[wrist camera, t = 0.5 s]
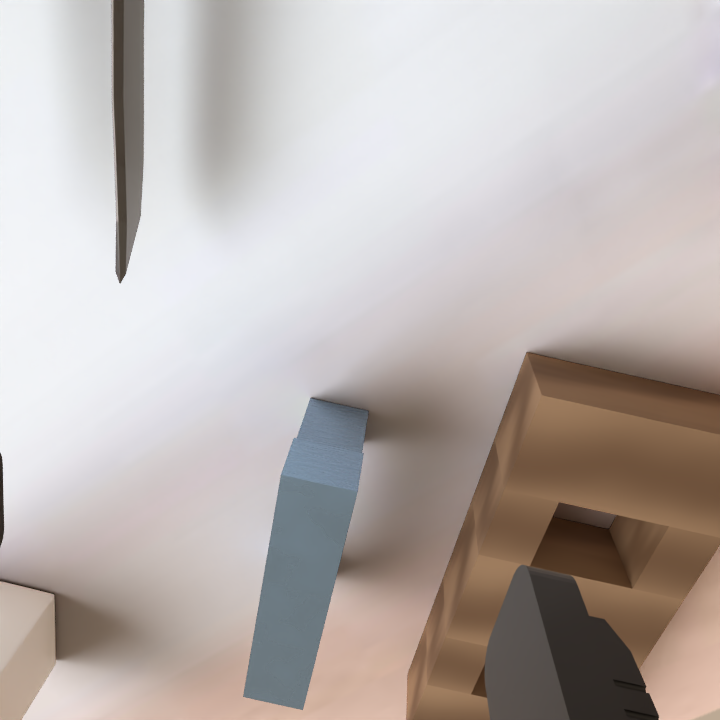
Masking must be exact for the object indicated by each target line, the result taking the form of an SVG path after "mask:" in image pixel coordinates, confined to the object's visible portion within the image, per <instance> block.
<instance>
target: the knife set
mask: <svg viewBox="0 0 720 720" xmlns="http://www.w3.org/2000/svg"><path fill="white" fill-rule="evenodd" d="M111 22H112V116H113V141H114V167H115V196H116V274H117V277H118V280H119V283H121V281H122V279H123V278H124V276H125V274H126V271H127V267H128V263H129V259H130V256H131V252H132V248H133V244H134V240H135V236H136V232H137V228H138V224H139V220H140V217H141V199H142V181H143V157H144V0H111Z"/></svg>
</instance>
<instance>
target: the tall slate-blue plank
mask: <svg viewBox="0 0 720 720" xmlns="http://www.w3.org/2000/svg"><path fill="white" fill-rule="evenodd" d="M368 412H369V411H367V410H362V409H358V408H353V407H349V406H344V405H340V404H335V403H331V402H326V401H322V400H317V399H313V398H310V401H309V404H308V407H307V410H306V413H305V416H304V419H303V422H302V425H301V428H300V431H299V434H298V436H297V439H296V438H294V439H293V442H292V445H291V448H290V451H289V454H288V456H287V459H286V462H285V465H284V468H283V471H282V474H281V478H280V484H279V490H278V496H277V502H276V508H275V513H274V519H273V525H272V531H271V537H270V543H269V549H268V555H267V560H266V566H265V572H264V578H263V584H262V590H261V596H260V601H259V607H258V613H257V619H256V625H255V631H254V637H253V643H252V648H251V654H250V660H249V666H248V672H247V678H246V684H245V689H244V695H243V697H246V698H251V699H255V700H260V701H264V702H269V703H273V704H278V705H283V706H287V707H292V708H296V709H301V710H303V707H304V703H305V699H306V695H307V691H308V687H309V683H310V680H311V676H312V672H313V668H314V664H315V660H316V656H317V652H318V648H319V644H320V640H321V636H322V632H323V628H324V624H325V620H326V616H327V612H328V608H329V604H330V600H331V596H332V592H333V588H334V584H335V580H336V576H337V572H338V568H339V564H340V560H341V556H342V552H343V548H344V544H345V540H346V536H347V532H348V528H349V524H350V520H351V516H352V512H353V508H354V504H355V500H356V496H357V492H358V486H359V479H360V473H361V466H362V460H363V454H364V453H362V450H363V443H364V437H365V431H366V425H367V418H368Z"/></svg>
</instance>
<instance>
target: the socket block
mask: <svg viewBox="0 0 720 720" xmlns="http://www.w3.org/2000/svg"><path fill="white" fill-rule="evenodd" d="M559 502H561V503H565V504H570V505H574V506H579V507H583V508H588V509H592V510H597V511H601V512H606V513H610V514H615V515H616V517H615V519H614V521H613V523H612V525H611V527H610V529H604V528H599V527H595V526H590V525H586V524H581V523H577V522H572V521H568V520H563V519H559V518H554V517H553V514H554V512H555V510H556V508H557V506H558V504H559ZM719 545H720V395H717V394H712V393H708V392H703V391H699V390H694V389H690V388H685V387H681V386H676V385H672V384H667V383H663V382H658V381H654V380H649V379H645V378H640V377H636V376H631V375H627V374H622V373H618V372H613V371H609V370H604V369H600V368H595V367H591V366H586V365H582V364H577V363H573V362H568V361H564V360H559V359H555V358H550V357H546V356H541V355H537V354H532V353H528V352H527V353H526V355H525V358H524V361H523V363H522V366H521V369H520V372H519V374H518V377H517V380H516V382H515V385H514V388H513V391H512V393H511V396H510V399H509V401H508V404H507V407H506V410H505V412H504V415H503V418H502V420H501V423H500V426H499V428H498V431H497V434H496V437H495V439H494V442H493V445H492V447H491V450H490V453H489V456H488V458H487V461H486V464H485V466H484V469H483V472H482V474H481V477H480V480H479V483H478V485H477V488H476V491H475V493H474V496H473V499H472V502H471V504H470V507H469V510H468V512H467V515H466V518H465V520H464V523H463V526H462V529H461V531H460V534H459V537H458V539H457V542H456V545H455V548H454V550H453V553H452V556H451V558H450V561H449V564H448V566H447V569H446V572H445V575H444V577H443V580H442V583H441V585H440V588H439V591H438V594H437V596H436V599H435V602H434V604H433V607H432V610H431V613H430V615H429V618H428V621H427V623H426V626H425V629H424V631H423V634H422V637H421V640H420V642H419V645H418V648H417V650H416V653H415V656H414V659H413V661H412V664H411V667H410V669H409V672H408V678H407V715H406V720H490V715H489V708H488V701H487V694H486V687H485V658H486V651H487V646H488V642H489V638H490V636H491V633H492V630H493V628H494V625H495V622H496V620H497V617H498V615H499V612H500V609H501V607H502V604H503V601H504V599H505V596H506V594H507V591H508V588H509V586H510V583H511V580H512V578H513V575H514V573H515V571H516V569H517V568H518V567H519V566H520V565H526V566H531V567H535V568H540V569H545V570H549V571H554V572H558V573H563V574H567V575H571V576H572V577H573V578H574V579H575V581H576V583H577V585H578V588H579V590H580V593H581V596H582V598H583V601H584V604H585V606H586V609H587V612H588V614H589V616H593V617H597V618H602V619H605V620H606V622H607V623H608V624H609V625H610V626H611V628H612V629H613V630H614V631H615V633H616V634H617V635H618V636H619V637H620V639H621V640H622V641H623V642H624V643H625V645H626V646H627V647H628V648H629V650H630V651H631V653H632V655H633V657H634V660H635V662H636V664H637V667H638V669H639V668H640V667H641V665H642V663H643V662H644V660H645V659H646V657H647V656H648V654H649V653H650V651H651V650H652V648H653V647H654V645H655V644H656V642H657V640H658V639H659V637H660V636H661V634H662V633H663V631H664V630H665V628H666V627H667V625H668V624H669V622H670V620H671V619H672V617H673V616H674V614H675V613H676V611H677V610H678V608H679V607H680V605H681V604H682V602H683V601H684V599H685V597H686V596H687V594H688V593H689V591H690V590H691V588H692V587H693V585H694V584H695V582H696V581H697V579H698V578H699V576H700V574H701V573H702V571H703V570H704V568H705V567H706V565H707V564H708V562H709V561H710V559H711V558H712V556H713V555H714V553H715V551H716V550H717V548H718V547H719Z"/></svg>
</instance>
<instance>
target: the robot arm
mask: <svg viewBox="0 0 720 720" xmlns="http://www.w3.org/2000/svg"><path fill="white" fill-rule="evenodd" d="M3 534H4V506H3V463H2V456H1V453H0V546H1V543H2V539H3ZM485 687H486V694H487V701H488V708H489V715H490V720H658V718H659V715H658V713H657V711H656V708H655V706H654V704H653V701H652V699H651V697H650V694H649V693H646V691H645V688H646V685H645V683H644V681H643V678H642V676H641V674H640V671H639V669H638V667H637V664H636V662H635V660H634V657H633V655H632V653H631V651H630V650H629V648H628V647H627V646H626V645H625V643H624V642H623V641H622V640H621V639H620V637H619V636H618V635H617V634H616V633H615V631H614V630H613V629H612V628H611V626H610V625H609V624H608V623H607V622H606V620H605V619H602V618H597V617H593V616H589V614H588V612H587V609H586V606H585V604H584V601H583V598H582V596H581V593H580V590H579V588H578V585H577V583H576V581H575V579H574V578H573V577H572V576H571V575H567V574H563V573H558V572H554V571H549V570H545V569H540V568H535V567H531V566H526V565H520V566H519V567H518V568H517V569H516V571H515V573H514V575H513V578H512V580H511V583H510V586H509V588H508V591H507V594H506V596H505V599H504V601H503V604H502V607H501V609H500V612H499V615H498V617H497V620H496V622H495V625H494V628H493V630H492V633H491V636H490V638H489V642H488V646H487V651H486V658H485Z"/></svg>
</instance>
